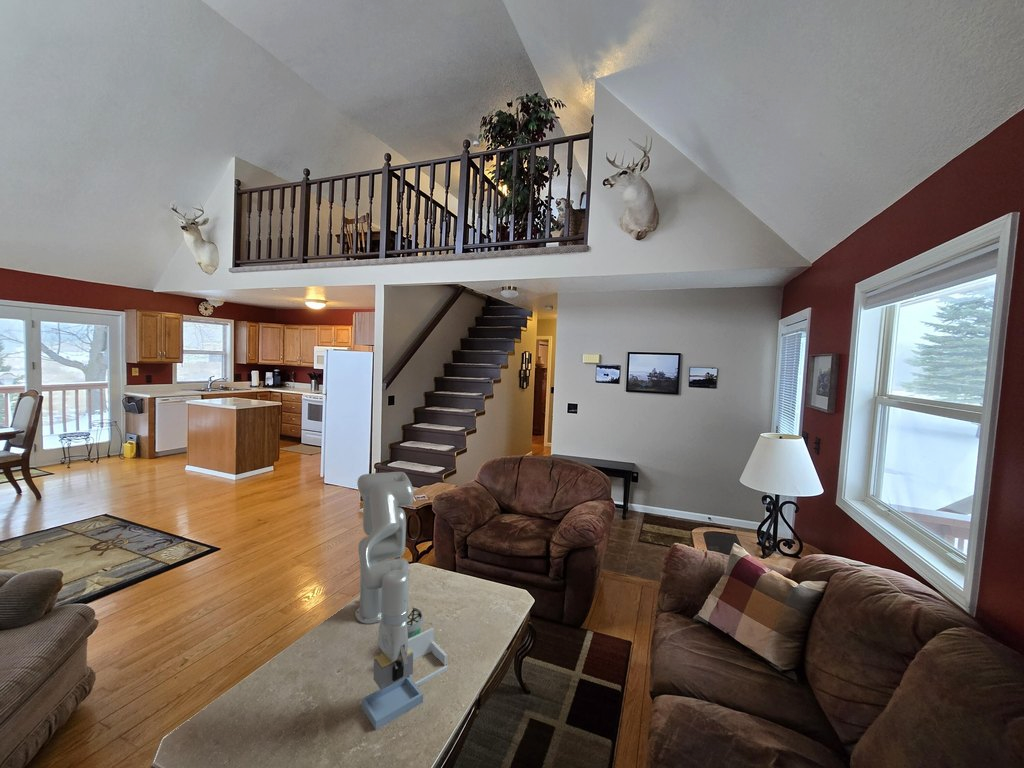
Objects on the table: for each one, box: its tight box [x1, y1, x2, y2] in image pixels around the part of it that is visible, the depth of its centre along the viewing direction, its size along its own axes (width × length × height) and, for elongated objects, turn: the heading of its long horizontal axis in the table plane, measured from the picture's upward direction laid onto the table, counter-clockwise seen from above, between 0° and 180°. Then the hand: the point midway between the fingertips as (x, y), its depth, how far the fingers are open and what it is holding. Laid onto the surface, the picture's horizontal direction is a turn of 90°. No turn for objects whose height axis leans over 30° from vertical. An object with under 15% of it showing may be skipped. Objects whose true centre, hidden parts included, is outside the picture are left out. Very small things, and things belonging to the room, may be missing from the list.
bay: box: [408, 627, 449, 688], centre depth 144 cm, size 12×14×8 cm
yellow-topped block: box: [373, 648, 414, 690], centre depth 128 cm, size 5×10×7 cm, turn 132°
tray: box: [361, 676, 424, 731], centre depth 129 cm, size 10×15×3 cm, turn 132°
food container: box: [406, 606, 424, 639], centre depth 154 cm, size 12×6×10 cm, turn 168°
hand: (393, 672), depth 128 cm, fingers closed on yellow-topped block, 5 cm apart
